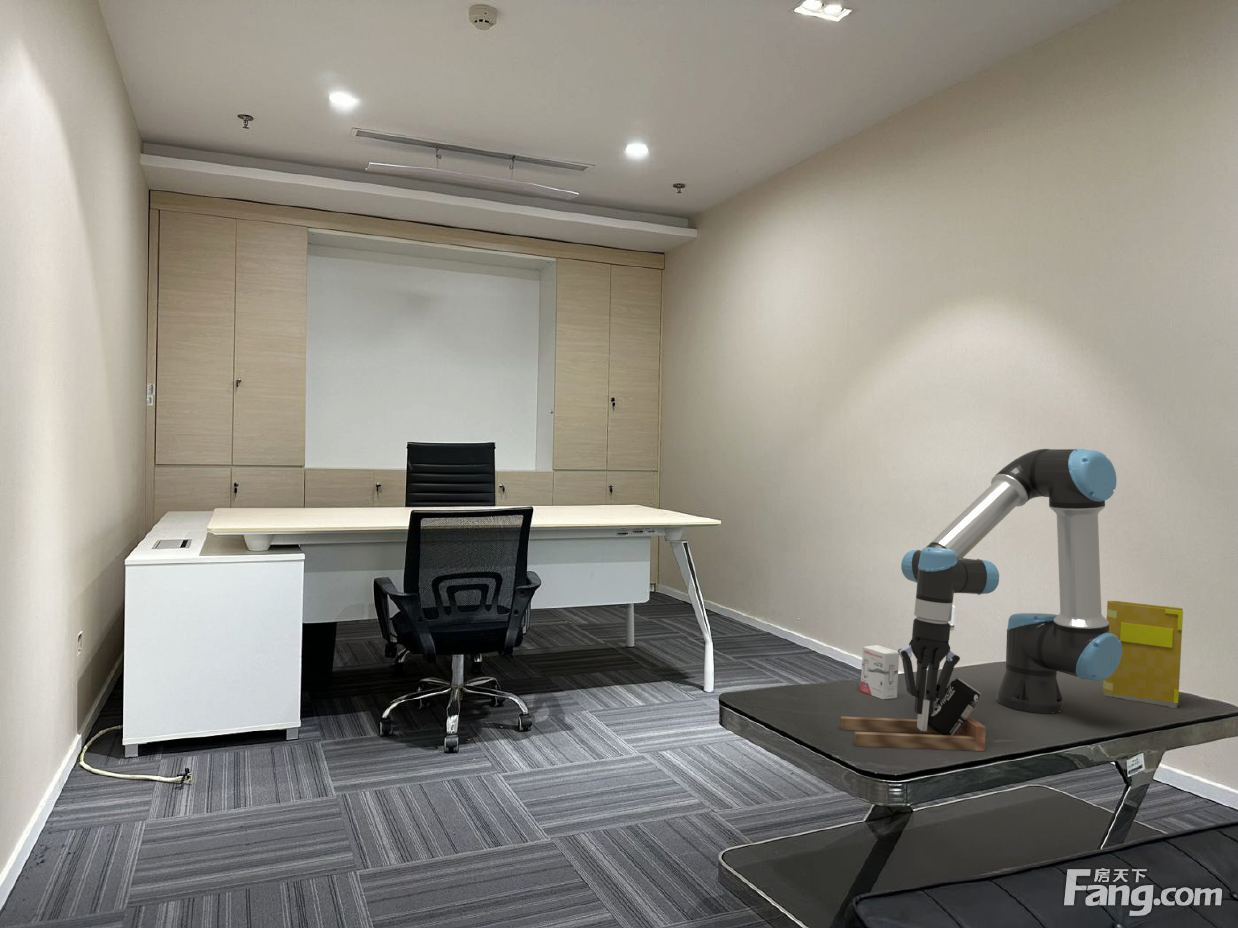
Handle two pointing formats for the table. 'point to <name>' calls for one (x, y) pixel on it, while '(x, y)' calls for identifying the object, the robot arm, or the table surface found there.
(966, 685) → the beverage can
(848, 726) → the channel
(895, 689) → the ink box
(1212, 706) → the table surface
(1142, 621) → the book
